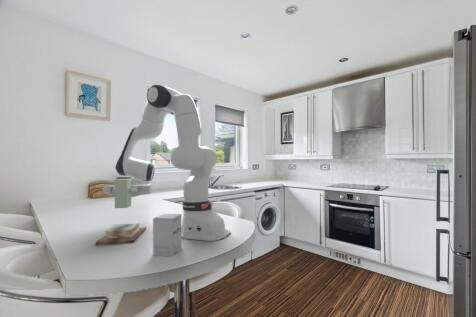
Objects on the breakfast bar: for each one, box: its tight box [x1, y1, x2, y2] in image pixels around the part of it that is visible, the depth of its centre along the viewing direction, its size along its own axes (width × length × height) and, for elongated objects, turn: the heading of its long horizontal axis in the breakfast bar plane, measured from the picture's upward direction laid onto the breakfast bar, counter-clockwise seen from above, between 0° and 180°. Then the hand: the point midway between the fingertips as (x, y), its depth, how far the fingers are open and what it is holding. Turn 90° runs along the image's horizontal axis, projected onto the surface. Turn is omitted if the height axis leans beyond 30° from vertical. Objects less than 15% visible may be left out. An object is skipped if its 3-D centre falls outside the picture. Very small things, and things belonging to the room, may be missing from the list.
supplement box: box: [152, 213, 183, 257], centre depth 78 cm, size 7×7×13 cm
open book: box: [94, 223, 147, 246], centre depth 96 cm, size 14×18×4 cm
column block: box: [114, 178, 132, 209], centre depth 96 cm, size 5×5×12 cm
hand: (122, 190), depth 95 cm, fingers closed on column block, 5 cm apart
